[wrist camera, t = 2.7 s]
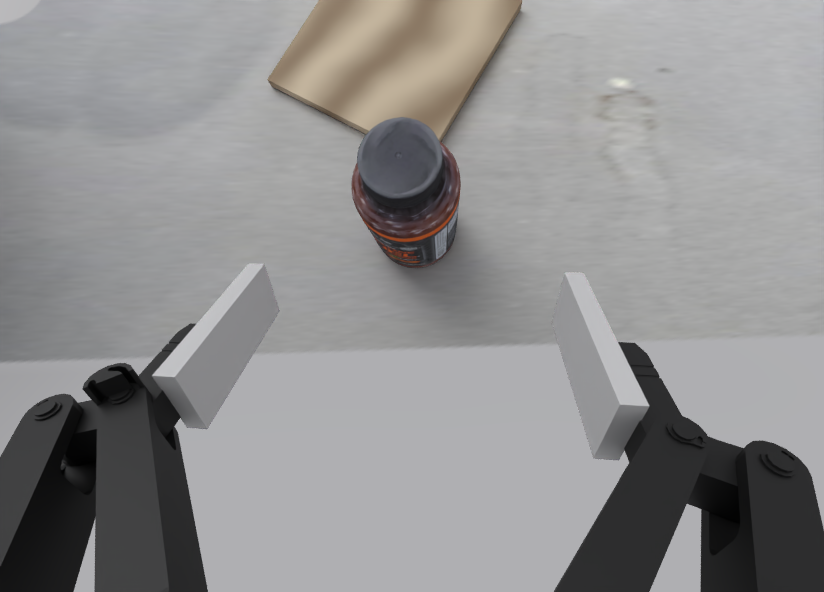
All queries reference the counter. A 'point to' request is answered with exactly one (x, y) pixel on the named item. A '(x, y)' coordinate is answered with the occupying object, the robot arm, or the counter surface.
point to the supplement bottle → (407, 191)
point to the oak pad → (393, 58)
